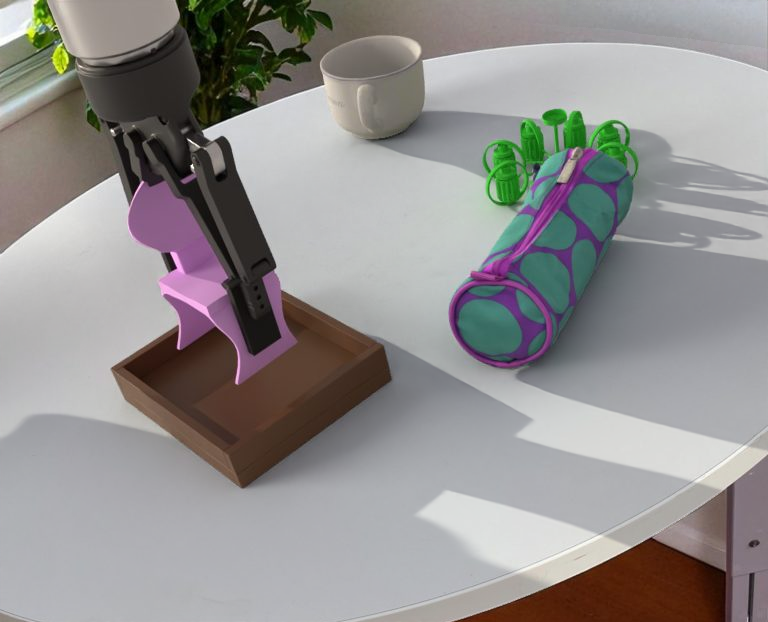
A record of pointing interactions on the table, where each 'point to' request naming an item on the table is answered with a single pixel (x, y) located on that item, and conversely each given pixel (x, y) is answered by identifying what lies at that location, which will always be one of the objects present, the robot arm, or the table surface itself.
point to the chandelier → (535, 150)
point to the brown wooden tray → (253, 390)
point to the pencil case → (542, 259)
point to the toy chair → (198, 276)
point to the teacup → (375, 85)
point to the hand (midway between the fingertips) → (231, 324)
